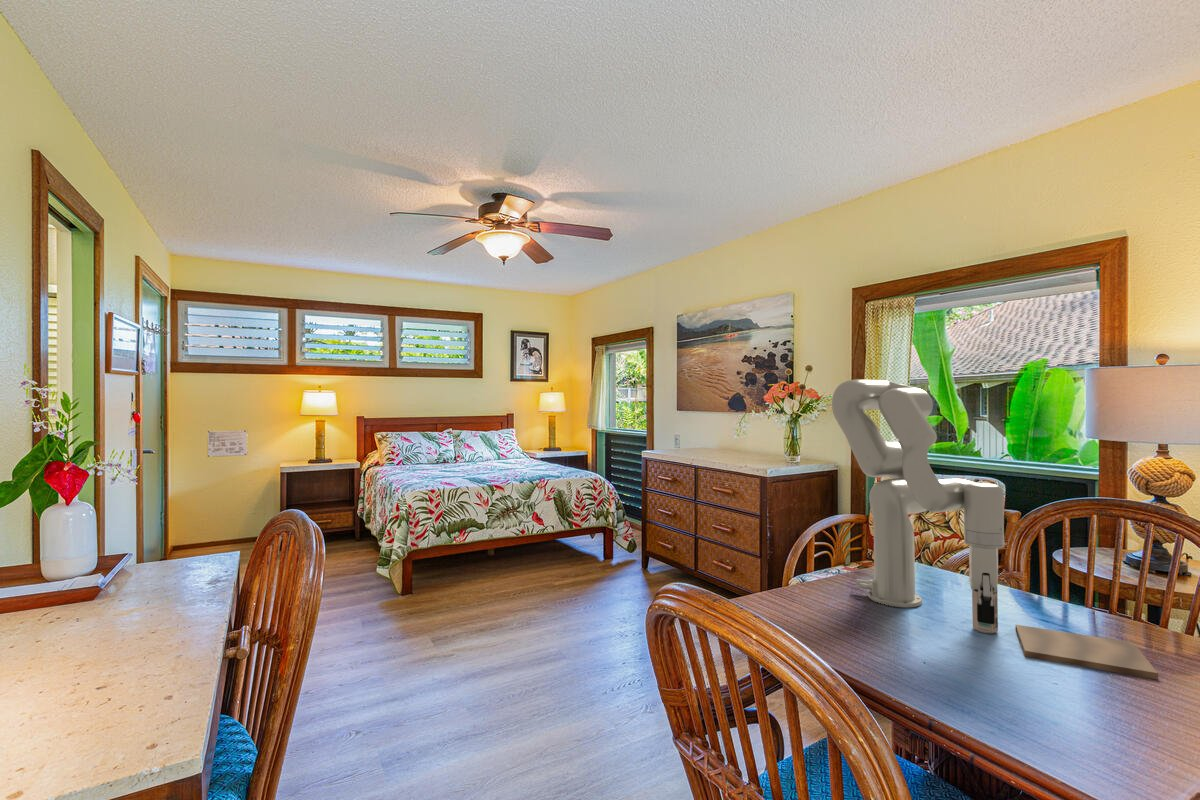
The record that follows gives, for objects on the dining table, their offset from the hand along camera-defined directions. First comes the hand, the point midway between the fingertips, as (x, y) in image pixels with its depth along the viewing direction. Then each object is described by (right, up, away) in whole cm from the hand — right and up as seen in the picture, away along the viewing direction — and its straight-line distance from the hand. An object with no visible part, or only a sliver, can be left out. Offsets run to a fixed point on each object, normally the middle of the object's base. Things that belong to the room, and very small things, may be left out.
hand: (985, 617), depth 130 cm
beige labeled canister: (0, -3, 0) cm, 3 cm away
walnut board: (+12, -3, -12) cm, 17 cm away
